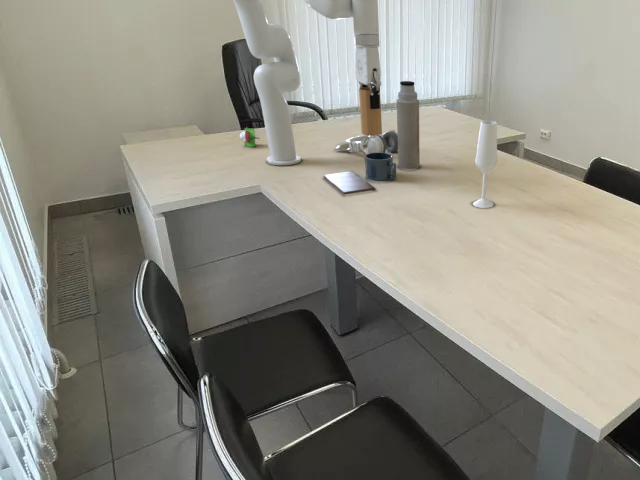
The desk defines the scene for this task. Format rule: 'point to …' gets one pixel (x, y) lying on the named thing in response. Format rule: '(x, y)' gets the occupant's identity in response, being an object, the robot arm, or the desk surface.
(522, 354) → the desk surface
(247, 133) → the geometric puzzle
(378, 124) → the paper cup
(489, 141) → the champagne flute
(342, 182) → the serving board
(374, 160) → the mug
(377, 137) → the headphones
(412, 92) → the thermos bottle
